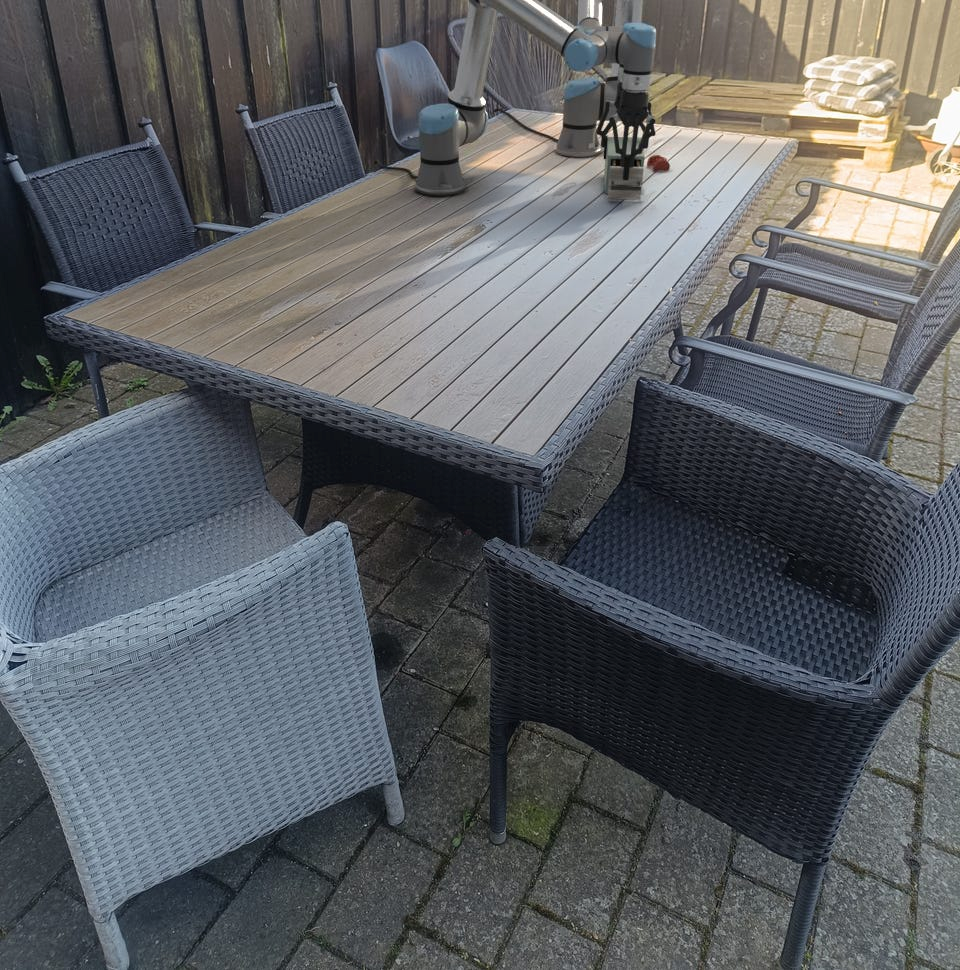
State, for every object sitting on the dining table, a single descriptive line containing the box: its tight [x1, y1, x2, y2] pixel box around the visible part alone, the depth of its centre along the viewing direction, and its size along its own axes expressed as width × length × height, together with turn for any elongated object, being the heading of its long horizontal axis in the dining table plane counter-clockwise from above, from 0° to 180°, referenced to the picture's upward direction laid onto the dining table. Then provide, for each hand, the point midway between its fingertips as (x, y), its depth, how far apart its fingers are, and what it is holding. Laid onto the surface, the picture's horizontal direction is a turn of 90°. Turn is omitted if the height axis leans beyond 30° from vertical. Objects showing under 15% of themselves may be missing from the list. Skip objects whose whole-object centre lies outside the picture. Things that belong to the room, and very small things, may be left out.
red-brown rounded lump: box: [646, 154, 671, 172], centre depth 276 cm, size 6×4×8 cm
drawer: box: [606, 159, 645, 201], centre depth 251 cm, size 24×10×9 cm, turn 174°
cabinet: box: [603, 136, 646, 194], centre depth 259 cm, size 20×11×11 cm, turn 174°
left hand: (625, 178), depth 242 cm, fingers closed
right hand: (623, 158), depth 264 cm, fingers closed on cabinet, 11 cm apart
